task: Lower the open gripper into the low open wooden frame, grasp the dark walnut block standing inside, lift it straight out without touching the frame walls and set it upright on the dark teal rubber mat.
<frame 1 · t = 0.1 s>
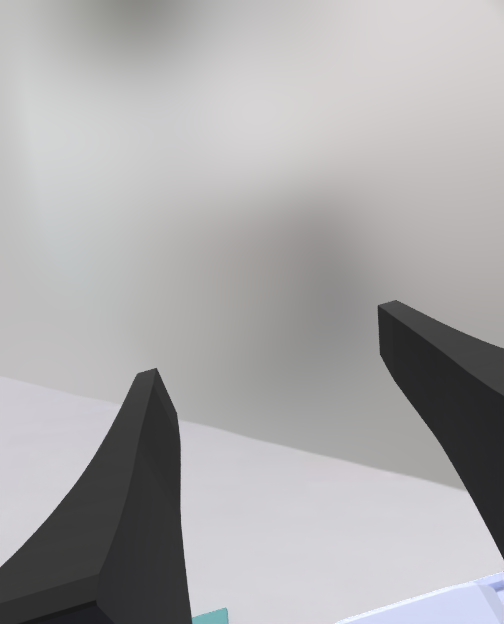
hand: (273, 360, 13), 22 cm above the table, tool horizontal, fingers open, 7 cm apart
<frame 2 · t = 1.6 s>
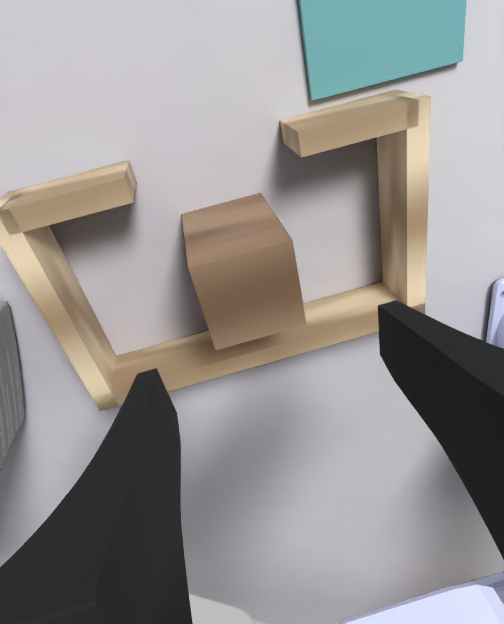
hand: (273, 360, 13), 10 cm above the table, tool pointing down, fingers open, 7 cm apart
open wooden frame: (233, 249, 22), on the table
walnut block: (230, 240, 22), resting in open wooden frame
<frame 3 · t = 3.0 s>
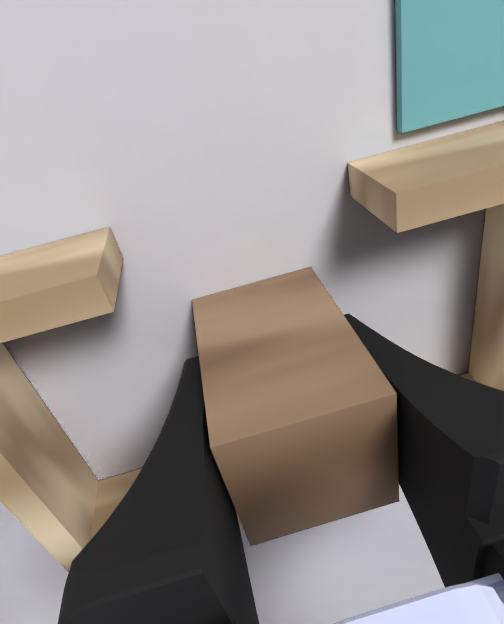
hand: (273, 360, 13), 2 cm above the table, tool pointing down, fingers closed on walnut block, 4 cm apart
open wooden frame: (266, 342, 15), on the table
walnut block: (263, 331, 15), resting in open wooden frame, touching gripper
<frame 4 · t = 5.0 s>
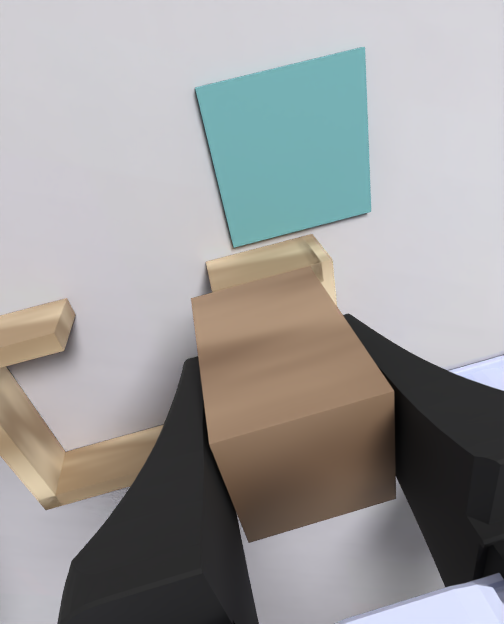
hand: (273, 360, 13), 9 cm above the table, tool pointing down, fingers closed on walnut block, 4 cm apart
mat: (291, 155, 19), on the table
open wooden frame: (170, 363, 24), on the table
walnut block: (262, 330, 15), point 7 cm above the table, touching gripper
when the fingers open (2 cm above the table, at t = 7.0 s): walnut block stays where it is, resting on mat.
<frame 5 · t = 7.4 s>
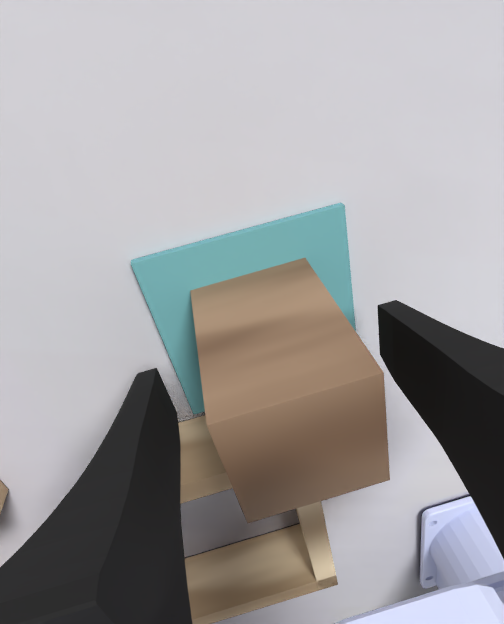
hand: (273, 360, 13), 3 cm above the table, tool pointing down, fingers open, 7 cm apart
mat: (258, 318, 16), on the table
open wooden frame: (128, 522, 20), on the table
walnut block: (260, 321, 15), resting on mat
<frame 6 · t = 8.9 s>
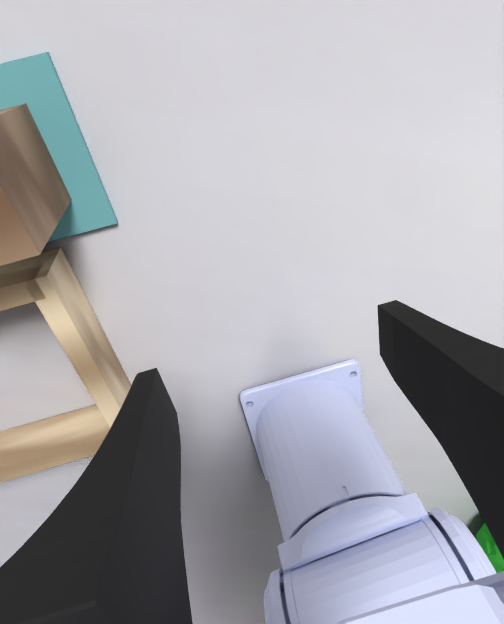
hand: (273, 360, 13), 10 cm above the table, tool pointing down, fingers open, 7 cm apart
mat: (6, 166, 18), on the table
walnut block: (3, 167, 18), resting on mat
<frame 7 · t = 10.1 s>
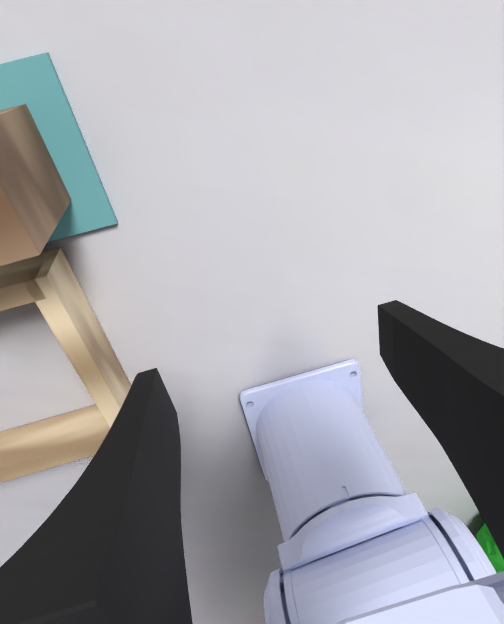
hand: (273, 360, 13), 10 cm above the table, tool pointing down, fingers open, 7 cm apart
mat: (6, 166, 18), on the table
walnut block: (3, 167, 18), resting on mat
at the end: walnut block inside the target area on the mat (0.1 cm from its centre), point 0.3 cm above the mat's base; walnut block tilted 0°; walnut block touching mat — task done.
